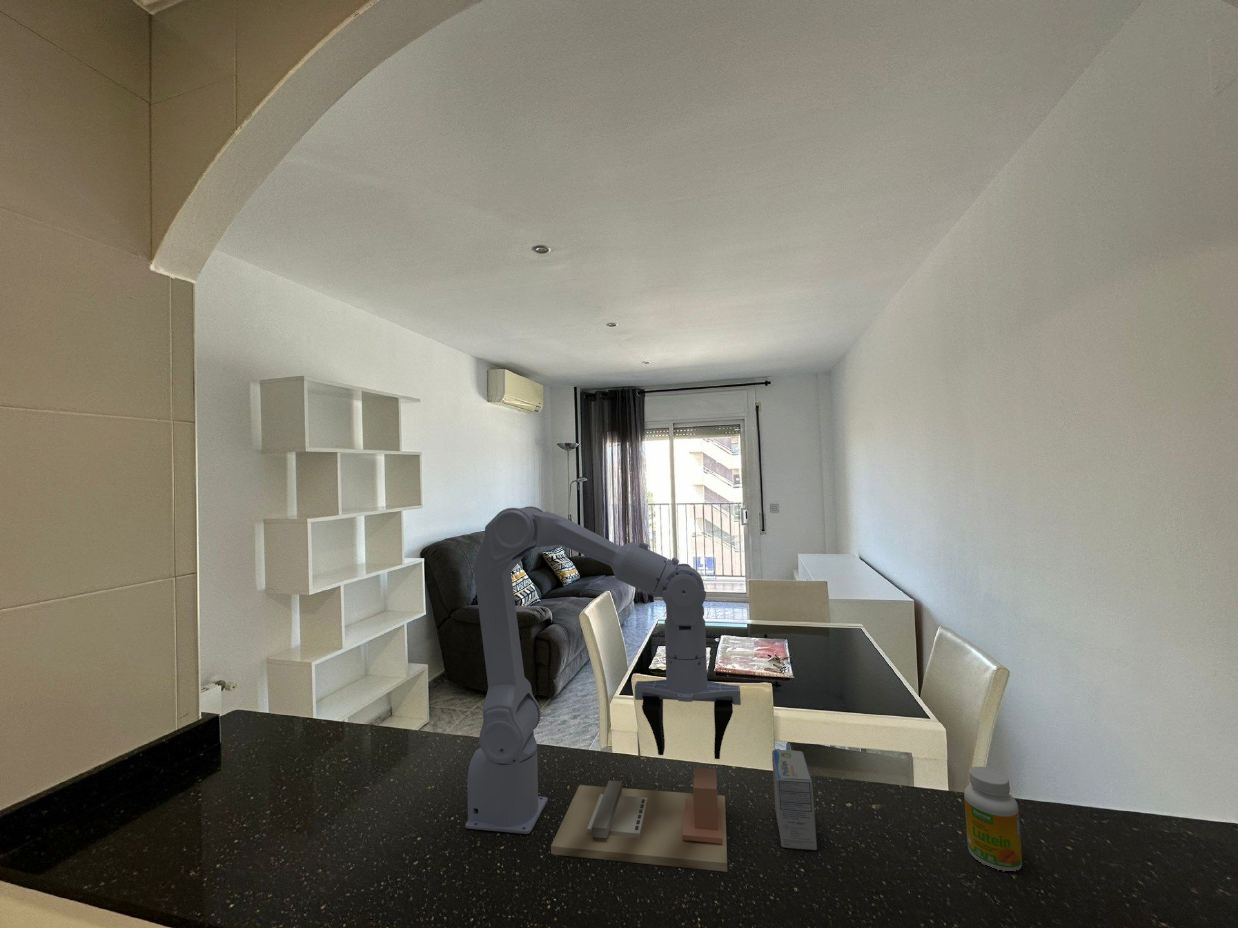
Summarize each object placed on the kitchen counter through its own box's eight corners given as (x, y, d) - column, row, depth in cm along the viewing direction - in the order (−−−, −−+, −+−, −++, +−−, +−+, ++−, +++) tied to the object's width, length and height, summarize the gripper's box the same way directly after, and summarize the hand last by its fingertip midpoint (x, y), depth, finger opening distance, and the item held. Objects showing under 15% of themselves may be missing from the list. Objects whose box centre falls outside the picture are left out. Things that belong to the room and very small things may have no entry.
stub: (682, 839, 65) (680, 793, 66) (686, 802, 73) (684, 761, 74) (722, 843, 64) (720, 796, 65) (721, 805, 72) (719, 763, 73)
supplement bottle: (967, 862, 62) (961, 778, 62) (967, 837, 66) (962, 759, 67) (1024, 880, 59) (1018, 791, 59) (1020, 852, 63) (1014, 770, 64)
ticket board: (551, 853, 65) (550, 831, 66) (579, 791, 79) (579, 772, 79) (727, 871, 61) (726, 847, 62) (725, 802, 75) (724, 782, 75)
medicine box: (817, 852, 64) (813, 780, 65) (780, 848, 65) (776, 777, 66) (807, 814, 72) (804, 750, 73) (774, 811, 73) (771, 748, 73)
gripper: (630, 660, 70) (632, 764, 69) (739, 664, 67) (744, 772, 66) (638, 645, 77) (640, 739, 76) (737, 648, 74) (741, 746, 73)
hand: (689, 753), depth 71 cm, fingers open, 7 cm apart
